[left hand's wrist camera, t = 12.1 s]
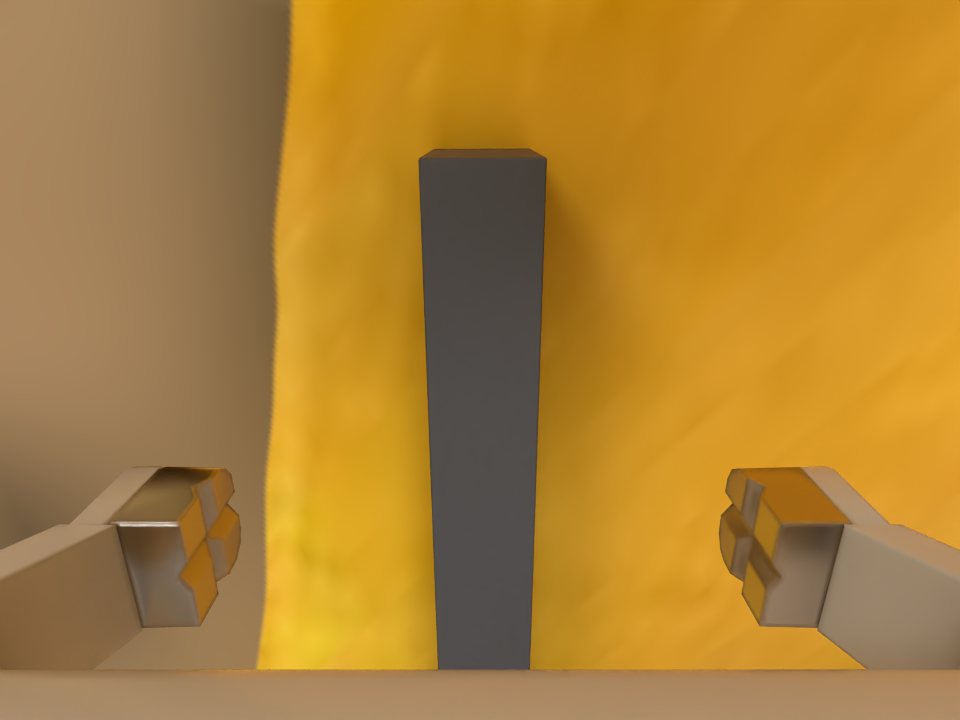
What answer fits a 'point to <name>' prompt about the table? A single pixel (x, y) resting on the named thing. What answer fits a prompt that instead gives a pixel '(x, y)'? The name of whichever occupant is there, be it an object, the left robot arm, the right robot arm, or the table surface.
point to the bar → (483, 395)
